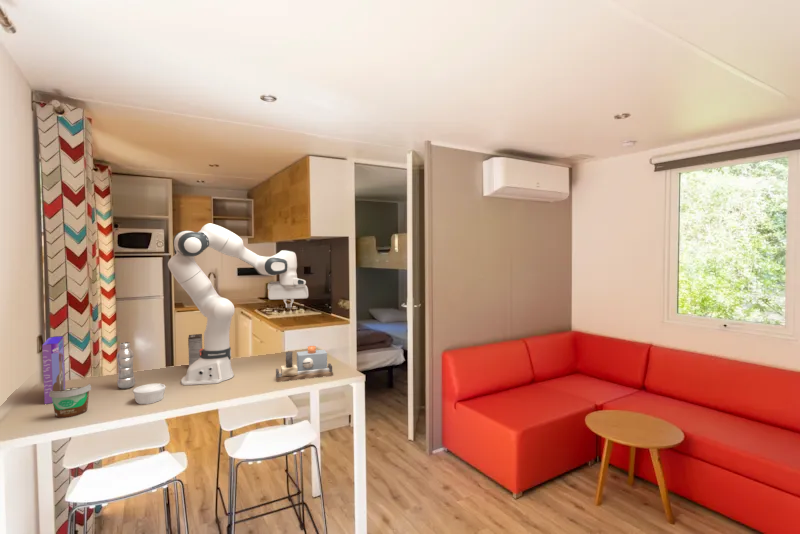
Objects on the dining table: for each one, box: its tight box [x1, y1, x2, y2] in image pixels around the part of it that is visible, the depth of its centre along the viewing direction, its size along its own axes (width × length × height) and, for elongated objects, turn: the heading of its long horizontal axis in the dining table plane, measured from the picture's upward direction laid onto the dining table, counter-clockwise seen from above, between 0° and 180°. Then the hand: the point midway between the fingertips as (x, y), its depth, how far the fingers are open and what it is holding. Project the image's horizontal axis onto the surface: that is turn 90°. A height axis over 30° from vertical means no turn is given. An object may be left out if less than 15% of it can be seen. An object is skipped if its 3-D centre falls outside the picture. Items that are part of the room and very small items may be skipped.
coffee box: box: [187, 333, 203, 367], centre depth 214 cm, size 9×6×16 cm
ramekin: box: [132, 383, 166, 405], centre depth 165 cm, size 11×11×5 cm
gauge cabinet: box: [296, 349, 328, 371], centre depth 206 cm, size 14×9×9 cm, turn 111°
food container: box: [49, 383, 92, 419], centre depth 150 cm, size 12×6×10 cm, turn 126°
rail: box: [275, 363, 334, 383], centre depth 196 cm, size 26×7×4 cm, turn 111°
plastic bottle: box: [116, 341, 136, 389], centre depth 180 cm, size 6×7×20 cm
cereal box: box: [42, 335, 66, 405], centre depth 169 cm, size 17×5×24 cm, turn 34°
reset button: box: [307, 345, 317, 354], centre depth 206 cm, size 4×4×3 cm
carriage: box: [280, 351, 298, 377], centre depth 193 cm, size 7×6×11 cm
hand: (288, 307), depth 213 cm, fingers closed
